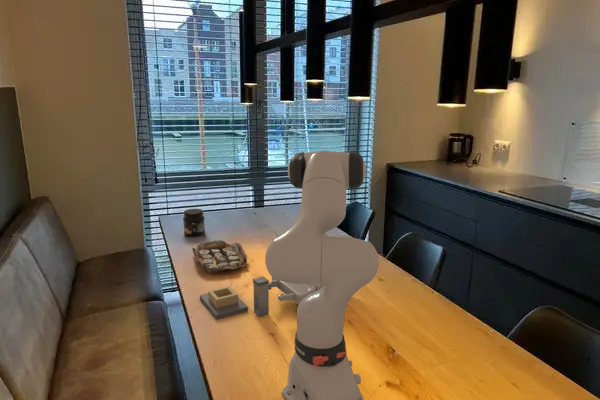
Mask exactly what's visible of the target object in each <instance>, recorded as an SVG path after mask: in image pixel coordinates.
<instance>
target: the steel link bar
mask: <svg viewBox="0 0 600 400" xmlns="http://www.w3.org/2000/svg"><path fill="white" fill-rule="evenodd" d="M252 283H253V313H254V314H255V315H256V316H257V317H258V318H261V317H264V316H268V315H270V314H269V313H270V312H269V311H270V310H269V309H270V308H269V307H270V305H269V303H270V301H269V298H270V297H269V292H270V290H269V287H268V284H269V283H270V280H269V279H267V278H266V277H265V276H258V277H253V278H252Z"/></svg>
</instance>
